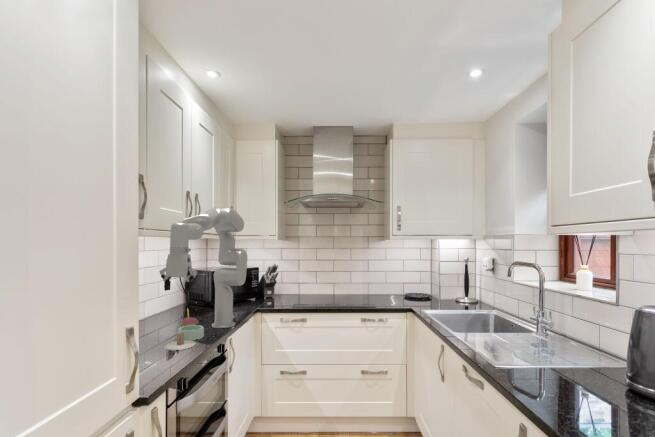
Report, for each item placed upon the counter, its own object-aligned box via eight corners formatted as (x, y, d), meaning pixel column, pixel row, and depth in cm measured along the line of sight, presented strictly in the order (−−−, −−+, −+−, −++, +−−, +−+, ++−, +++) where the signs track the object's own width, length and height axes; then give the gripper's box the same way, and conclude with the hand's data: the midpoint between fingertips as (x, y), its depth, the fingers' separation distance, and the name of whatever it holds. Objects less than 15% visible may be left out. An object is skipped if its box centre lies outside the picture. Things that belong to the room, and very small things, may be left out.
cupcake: (176, 331, 184) (177, 308, 185) (191, 328, 191) (191, 305, 192) (187, 334, 179) (187, 310, 180) (201, 330, 186) (202, 307, 187)
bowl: (186, 334, 178) (186, 324, 179) (207, 335, 177) (207, 325, 177) (173, 341, 167) (173, 330, 168) (195, 342, 166) (195, 331, 166)
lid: (176, 341, 165) (176, 329, 165) (200, 343, 162) (200, 331, 163) (159, 349, 153) (159, 336, 153) (185, 351, 151) (185, 338, 151)
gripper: (201, 251, 159) (200, 290, 157) (166, 250, 162) (164, 289, 160) (192, 251, 151) (190, 292, 150) (155, 250, 154) (153, 291, 153)
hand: (177, 290), depth 155 cm, fingers open, 9 cm apart
